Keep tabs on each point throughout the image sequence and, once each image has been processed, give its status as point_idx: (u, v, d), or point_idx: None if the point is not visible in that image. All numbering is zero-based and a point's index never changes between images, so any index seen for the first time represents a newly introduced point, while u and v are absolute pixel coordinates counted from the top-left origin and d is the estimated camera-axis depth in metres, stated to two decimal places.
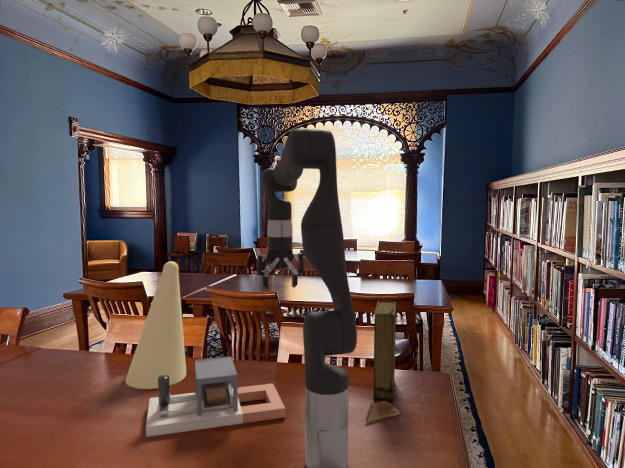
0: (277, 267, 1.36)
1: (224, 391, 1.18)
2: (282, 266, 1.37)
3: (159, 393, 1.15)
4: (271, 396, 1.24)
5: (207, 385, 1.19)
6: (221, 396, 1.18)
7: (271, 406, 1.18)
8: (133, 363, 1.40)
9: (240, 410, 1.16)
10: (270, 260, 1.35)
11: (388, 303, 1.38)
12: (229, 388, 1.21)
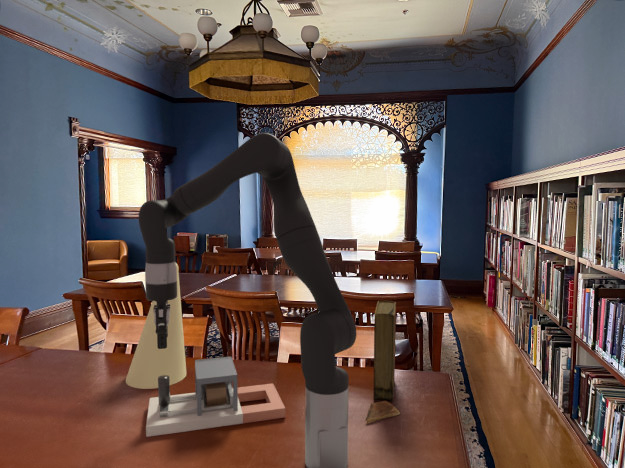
0: None
1: (224, 391, 1.18)
2: None
3: (159, 393, 1.15)
4: (271, 396, 1.24)
5: (207, 385, 1.19)
6: (221, 396, 1.18)
7: (271, 406, 1.18)
8: (133, 363, 1.40)
9: (240, 410, 1.16)
10: (166, 312, 1.12)
11: (388, 303, 1.38)
12: (229, 388, 1.21)
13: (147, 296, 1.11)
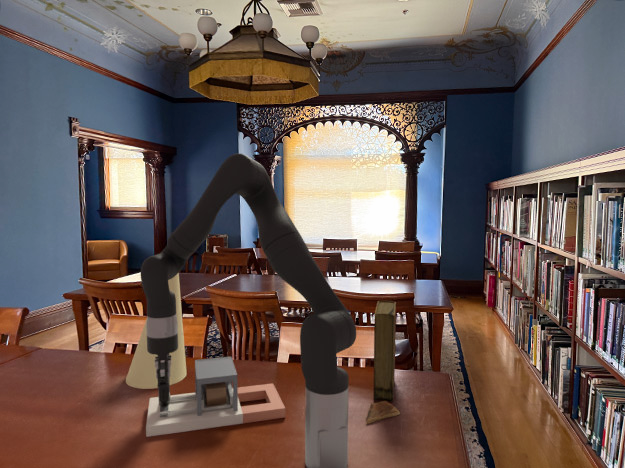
0: None
1: (224, 391, 1.18)
2: None
3: None
4: (271, 396, 1.24)
5: (207, 385, 1.19)
6: (221, 396, 1.18)
7: (271, 406, 1.18)
8: (133, 363, 1.40)
9: (240, 410, 1.16)
10: (167, 365, 1.13)
11: (388, 303, 1.38)
12: (229, 388, 1.21)
13: (148, 349, 1.12)
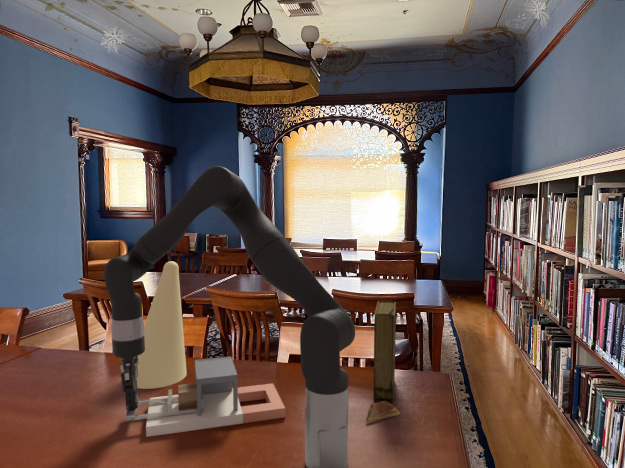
0: None
1: (196, 394, 1.16)
2: None
3: None
4: (271, 396, 1.24)
5: (179, 388, 1.17)
6: (193, 400, 1.16)
7: (271, 406, 1.18)
8: None
9: (240, 410, 1.16)
10: (132, 368, 1.10)
11: (388, 303, 1.38)
12: None
13: (113, 352, 1.10)
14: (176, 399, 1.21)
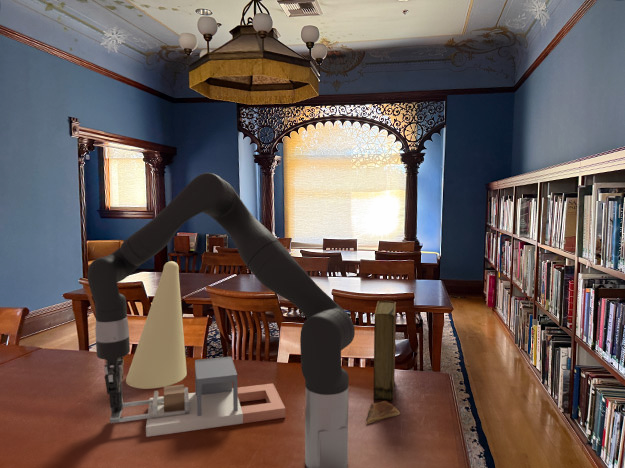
0: None
1: (182, 396, 1.15)
2: None
3: None
4: (271, 396, 1.24)
5: (165, 390, 1.16)
6: (179, 402, 1.15)
7: (271, 406, 1.18)
8: (133, 363, 1.41)
9: (240, 410, 1.16)
10: (117, 370, 1.09)
11: (388, 303, 1.38)
12: (185, 393, 1.18)
13: (97, 354, 1.09)
14: (162, 401, 1.20)
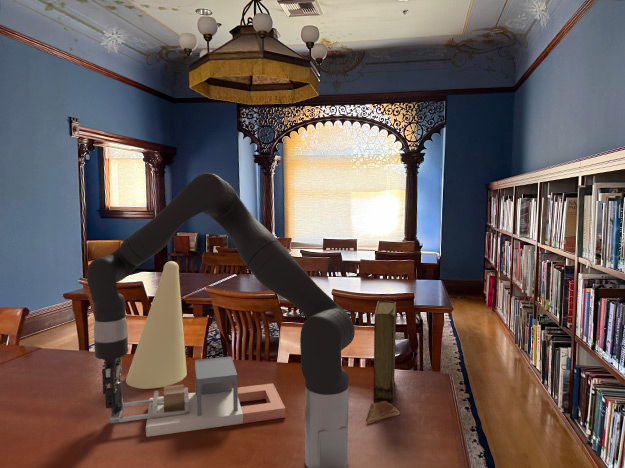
0: None
1: (182, 396, 1.15)
2: None
3: None
4: (271, 396, 1.24)
5: (165, 390, 1.16)
6: (179, 402, 1.15)
7: (271, 406, 1.18)
8: (133, 363, 1.41)
9: (240, 410, 1.16)
10: (115, 370, 1.09)
11: (388, 303, 1.38)
12: (185, 393, 1.18)
13: (95, 354, 1.09)
14: (162, 401, 1.20)
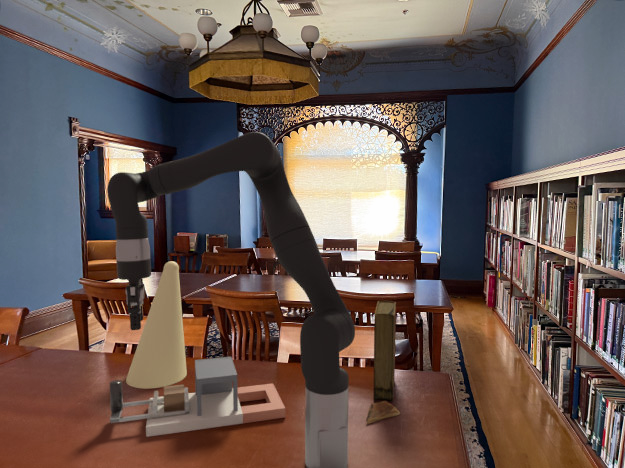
0: None
1: (182, 396, 1.15)
2: None
3: (111, 399, 1.12)
4: (271, 396, 1.24)
5: (165, 390, 1.16)
6: (179, 402, 1.15)
7: (271, 406, 1.18)
8: (134, 363, 1.41)
9: (240, 410, 1.16)
10: (139, 291, 1.05)
11: (388, 303, 1.38)
12: (185, 393, 1.18)
13: (118, 275, 1.05)
14: (162, 401, 1.20)
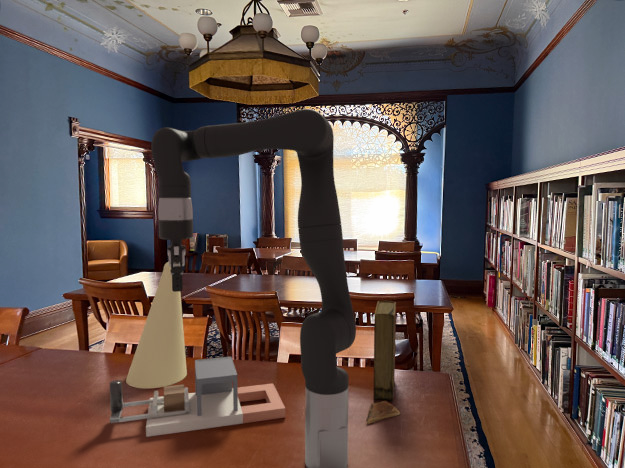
0: None
1: (182, 396, 1.15)
2: None
3: (111, 399, 1.12)
4: (271, 396, 1.24)
5: (165, 390, 1.16)
6: (179, 402, 1.15)
7: (271, 406, 1.18)
8: (134, 363, 1.41)
9: (240, 410, 1.16)
10: None
11: (388, 303, 1.38)
12: (185, 393, 1.18)
13: (161, 234, 1.01)
14: (162, 401, 1.20)
